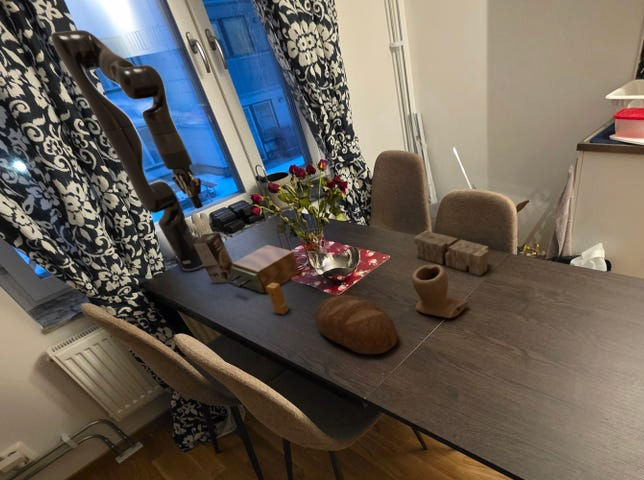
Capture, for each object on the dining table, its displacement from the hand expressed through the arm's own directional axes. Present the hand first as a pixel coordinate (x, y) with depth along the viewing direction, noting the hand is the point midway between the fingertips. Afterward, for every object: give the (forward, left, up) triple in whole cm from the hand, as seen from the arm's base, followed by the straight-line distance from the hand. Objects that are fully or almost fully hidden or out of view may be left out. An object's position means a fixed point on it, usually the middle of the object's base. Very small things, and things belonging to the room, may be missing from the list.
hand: (199, 207), depth 127 cm
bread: (+63, -2, -29) cm, 69 cm away
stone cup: (+79, +19, -29) cm, 86 cm away
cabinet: (+10, +10, -29) cm, 32 cm away
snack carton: (+20, +24, -29) cm, 43 cm away
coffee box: (-9, +2, -29) cm, 31 cm away
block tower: (+67, +49, -29) cm, 88 cm away
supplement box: (+32, -4, -29) cm, 44 cm away
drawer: (+10, +5, -28) cm, 30 cm away
